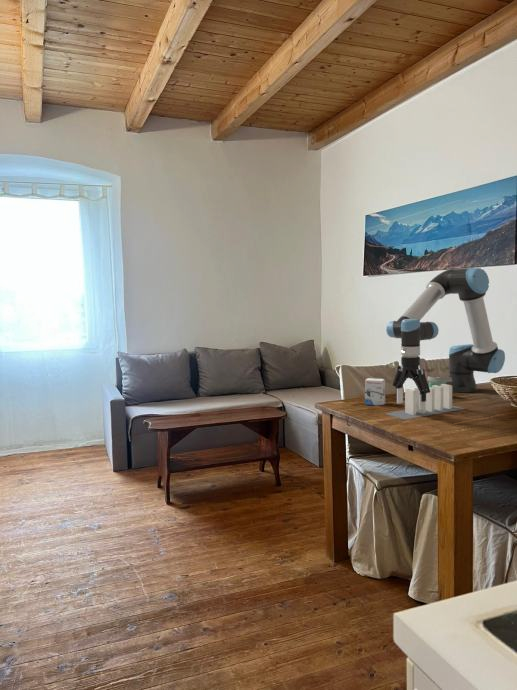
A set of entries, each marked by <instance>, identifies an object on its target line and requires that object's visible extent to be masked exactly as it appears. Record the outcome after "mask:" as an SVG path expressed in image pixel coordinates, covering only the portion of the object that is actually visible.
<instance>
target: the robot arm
mask: <svg viewBox="0 0 517 690" xmlns="http://www.w3.org/2000/svg"><path fill="white" fill-rule="evenodd" d="M489 284H490V278H489V276H488V274H487V272H486V271H485V270H484V269H482V268H481V267H466V268H465V267H464V268H450V269H446V270H444V271H442V272H441V273H439V274H437V275H436V276H434V277H433V278H432V279H431V280H430V281H428V283H427V284H426V287H425V290H424V291H423V292H422V293H421V294H420V295H419V296H418V297H417V299H416V300H415V301H414V302H413V303H412V304H411V305H410V306H409V307H408V308H407V309H406V311H404V313H403V314H402V315H401V316H400V317H399V318H398V319H397V320H392V321H389V322H388V323H387V325H386V329H385V331H386V334H387V336H388V337H390V338H394V339H401V340H400V341H401V344H400V345H401V346H400V349H401V350H400V351H401V352H400V353H401V354H400V355H401V358H400V359H401V362H400V363H401V365H398V366H397V370H396V373H395V376H394V379H393V381H392V386H393V387H395V395H396V404H398V405H399V404H403V403H404V401H403V400H404V388H403V385H404V384H405V382H406V380H407V379H410V380H412V381H413V382H414V384H415V386H416V388H418V389H419V391H420V394H419V410H422V409H425V402H426V394H427V393H430V389H429V382H428V380H427V377H426V373H425V372H426V371H425V369H424V368H423V369H419V367H420V365H421V357H420V355H421V341H427V340H433V339H435V338H437V336H438V334H439V326H438V324H437V323H435V322H434V321H421V320H422V319H423V318H424V316H425V315H426V314H427V313H428V312H429V311H430V310H431V308H432V307H434V305H435V304H436V303H437V302H438V301H440V300H441V299H444V298H445V296H447V295H454V294H457V295H458V299H459V300H460V301H461V302H463V305H464V308H465V314H466V317H467V321H468V325H469V330H470V333H471V338H472V343H473V344H472V343H471V344H459V345H452V346H451V347H450V348H449V349H448V350H449V352H448V353H449V354H448V362H449V363H448V366H449V367H448V377H447V378H449V377H451V378H452V382H451V386H452V393H473V392H474V393H475V392H477V391H478V385H477V382H476V379H475V375H474V372H479V373H488V374H497V373H499V372H500V371H501V370H502V369H503V367H504V364H505V361H506V354H505V351H504V350H503V349H499V347H498V344H497V343H496V342H495V341H494V340H493V336H492V331H491V327H490V324H489V318H488V314H487V309H486V304H485V300H484V297H485V296H486V294H487V292H488V291H489V287H490V286H489ZM422 390H423V391H422Z"/></svg>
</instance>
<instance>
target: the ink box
mask: <svg viewBox="0 0 517 690" xmlns="http://www.w3.org/2000/svg"><path fill="white" fill-rule="evenodd" d="M364 405H365V406H366V405H367V406H381V405H382V406H383V405H386V379H385V378H373V377H372V378H369V377H368V378H366V379H364Z"/></svg>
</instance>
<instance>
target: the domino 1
mask: <svg viewBox="0 0 517 690" xmlns="http://www.w3.org/2000/svg"><path fill="white" fill-rule="evenodd" d="M404 398H405V399H404V410H405V413H408V414H411V415H416V391H414V390H413V389H410V388H406V389H404Z"/></svg>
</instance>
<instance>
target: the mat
mask: <svg viewBox="0 0 517 690" xmlns="http://www.w3.org/2000/svg"><path fill="white" fill-rule="evenodd" d="M460 410H461V411H462V410H466V408H464V407H461V406H457V405H456V406H455V405H453V404H452V408H451V409H448V408H444V407H443V410H437V409H435V411H434V412H430V411H427V410H426V413H419V412H416V415H411V414H408V413H405V409H403V410H397V411H392V412H385V413H384V414H385V415H388V416H391V417H393V418H394V417H395V418H397V419H401V420H403V421H404V420H405V421H406V420H409V419H415V418H420V417H426V416H427V417H428V416H432V415H437V414H443V413H449V412H453V411H454V412H456V411H460Z"/></svg>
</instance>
